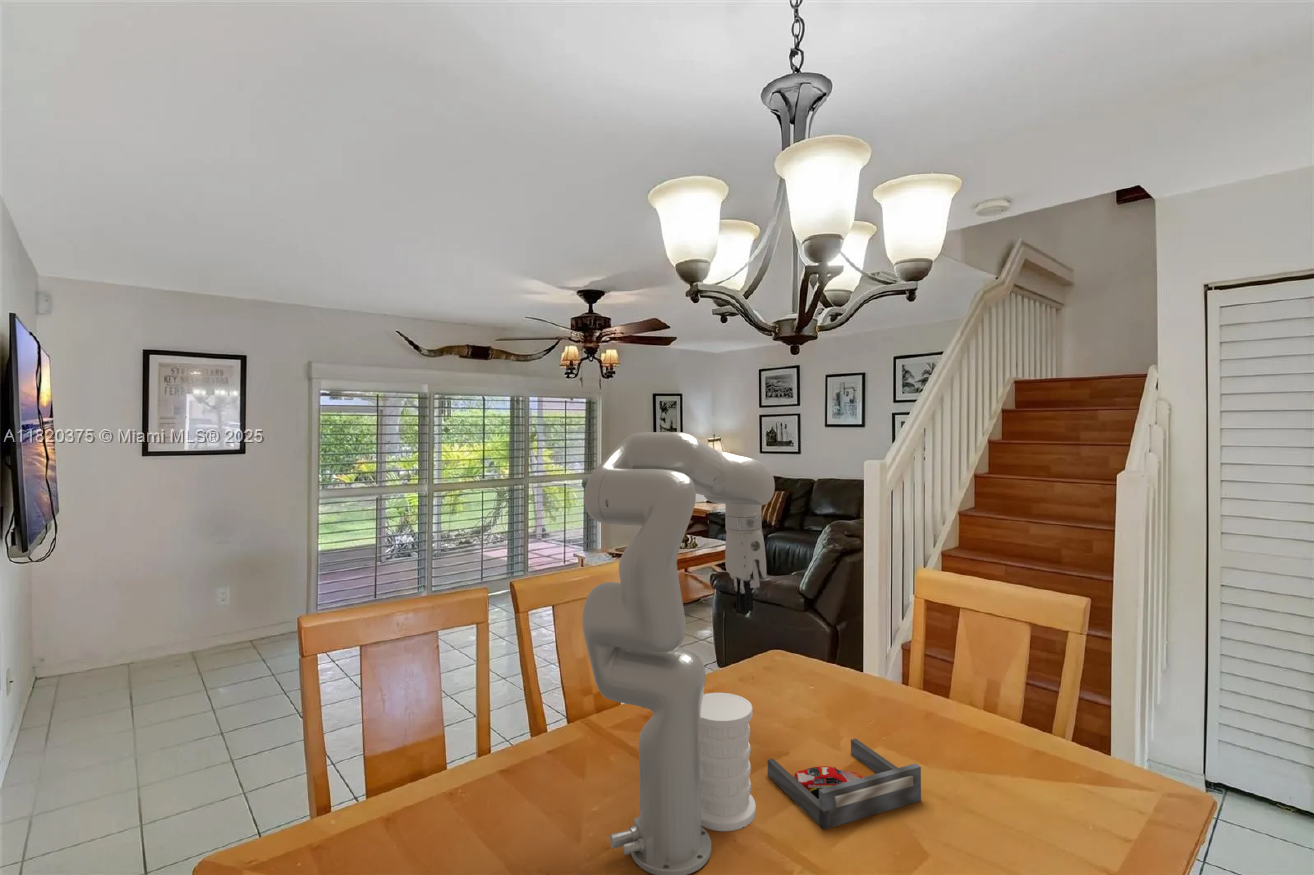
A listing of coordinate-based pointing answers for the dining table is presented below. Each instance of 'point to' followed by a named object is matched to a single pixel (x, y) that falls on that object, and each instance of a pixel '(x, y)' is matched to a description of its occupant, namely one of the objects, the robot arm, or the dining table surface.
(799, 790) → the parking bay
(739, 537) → the robot arm
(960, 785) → the dining table surface
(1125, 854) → the dining table surface
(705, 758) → the decorative container
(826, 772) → the race car
